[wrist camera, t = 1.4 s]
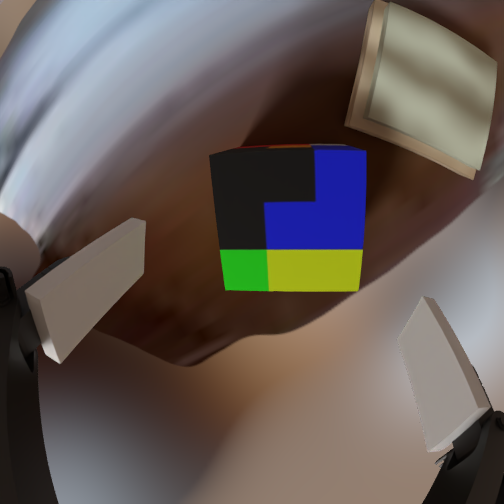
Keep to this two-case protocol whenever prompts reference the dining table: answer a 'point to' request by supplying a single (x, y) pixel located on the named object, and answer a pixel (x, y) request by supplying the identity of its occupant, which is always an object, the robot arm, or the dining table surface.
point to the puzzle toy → (290, 216)
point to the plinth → (423, 89)
